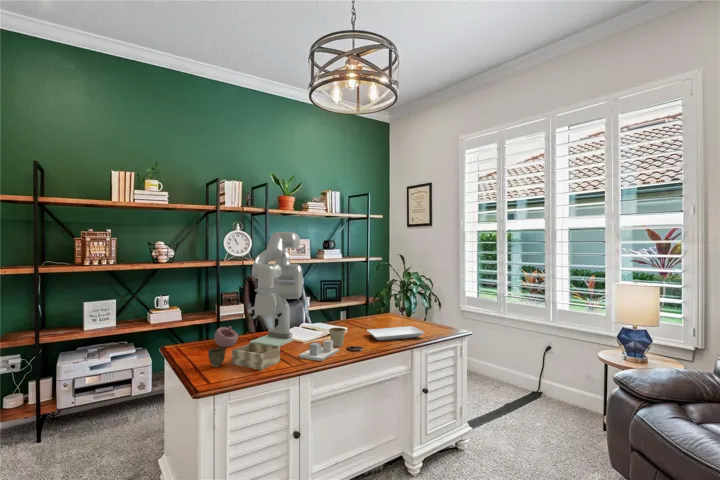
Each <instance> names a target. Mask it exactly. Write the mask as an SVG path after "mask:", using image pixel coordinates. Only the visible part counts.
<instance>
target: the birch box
mask: <svg viewBox="0 0 720 480" xmlns="http://www.w3.org/2000/svg"><path fill="white" fill-rule="evenodd" d="M231 350H232V351H231V365H234V366H239V367H244V368H248V369H251V368H253V369H252V370H256V369H258V370H257V371H261V370H262V371H264V370H266V369H268V368H271V367H272V366H274V365H276V364H278V363H280V362H281V346H280V347H273V346H266V345H260V344H253V343H247V344H245V345H242V346H239V347H237V348H234V349H231ZM267 367H268V368H267ZM265 368H266V369H265ZM263 369H264V370H263Z"/></svg>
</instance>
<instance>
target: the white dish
mask: <svg viewBox="0 0 720 480" xmlns="http://www.w3.org/2000/svg"><path fill="white" fill-rule="evenodd" d="M339 352H340V348H337V347H336V348H335V347H333V350H332V351H331V352H323V345H321V354H319V355H317V356H316V355H310V348H309V349H308V350H305V351H304V352H301V353H299V354H298V358H299V357H300V359H304V358H305V359H306V360H310V361H318V362H323V361H326V359H329V358H330V357H332V356H334V355H335V354H337V353H339Z"/></svg>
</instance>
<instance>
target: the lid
mask: <svg viewBox="0 0 720 480" xmlns="http://www.w3.org/2000/svg"><path fill="white" fill-rule="evenodd" d="M293 341H295V338H291V337H290V334H289V333H282V332H274V331H269V332H268V334H267V335H263V336H260V337H258V338H254V339H252V340H249V343H248V344H250V343H253V344H260V345H266V346H273V347H280V348H281V347H282V346H284V345H286V344H289V343H291V342H293Z"/></svg>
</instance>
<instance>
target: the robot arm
mask: <svg viewBox="0 0 720 480" xmlns="http://www.w3.org/2000/svg"><path fill="white" fill-rule="evenodd" d="M300 243H301V238H300V236H299V235H298V234H297V233H296V232H293V231H276V232H273V233H272V234H271V235H270V237H269V240H268V245H267V248H266V249H265V250H263V251H262V252H261V253H259V254H258V255H257V256H256V257H255V259H254V260H253V264H252V267H251V275H252V277H253V278H254V279H257V288H255V289H254V293H255V292H256V294H255V298H254V300H255V301H254V306H252V307H250V308H248V309H247V312H248V314H249V316H250V317H251V318H252V319H253V326H254V328H257V327H258V323H259V322H258V321H259V318H258V316H272V321H273V322H272V326H273V327H269V328H268V332H269V331H274V332H282V333H289V334H290V338H291V336H292V337H293V333H292V332H290V331H291V330H290V329H291V328H290V327H291V325H290V324H291V322H290V321H291V318H290V317H291V315H290V313H291V312H290V311H291V310H290V309H291V306H290V303H289V301H287V299H288V300H292V299H293V300H294V299H296V300H298V299H300V298H301V297H302V294H303V268H302V265H300V264H298V263H291V256H290V254H289V252H288V251H287V250H286V249H298V248H299V247H300ZM271 262H274V263H271ZM275 279H276V280H278V281H287V282H276V283H275ZM288 281H292V282H288ZM253 311H254V313H253Z"/></svg>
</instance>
